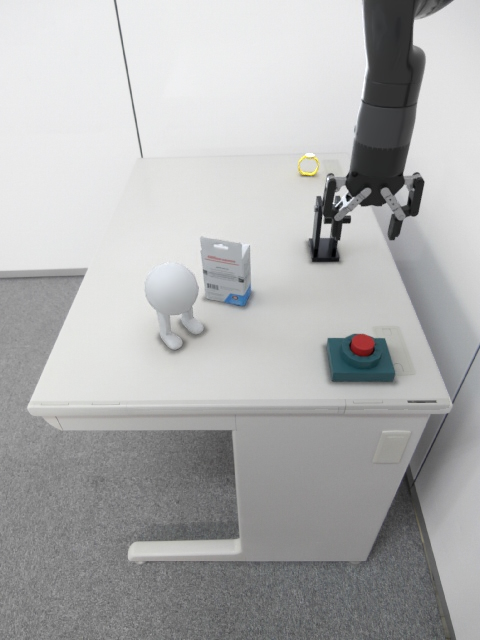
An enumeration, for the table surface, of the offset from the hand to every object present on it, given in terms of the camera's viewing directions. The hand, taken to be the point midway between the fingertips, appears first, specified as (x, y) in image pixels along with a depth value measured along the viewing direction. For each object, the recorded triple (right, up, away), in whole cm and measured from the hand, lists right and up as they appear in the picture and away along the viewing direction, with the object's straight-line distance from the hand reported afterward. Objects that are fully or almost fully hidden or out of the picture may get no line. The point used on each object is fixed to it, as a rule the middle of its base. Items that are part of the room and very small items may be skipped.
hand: (363, 238), depth 71 cm
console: (0, -21, +5) cm, 21 cm away
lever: (-1, +7, +19) cm, 20 cm away
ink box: (-22, -8, +19) cm, 31 cm away
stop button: (0, -18, +3) cm, 18 cm away
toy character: (-31, -16, +12) cm, 37 cm away
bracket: (-1, +2, +30) cm, 30 cm away
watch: (0, +30, +60) cm, 67 cm away
